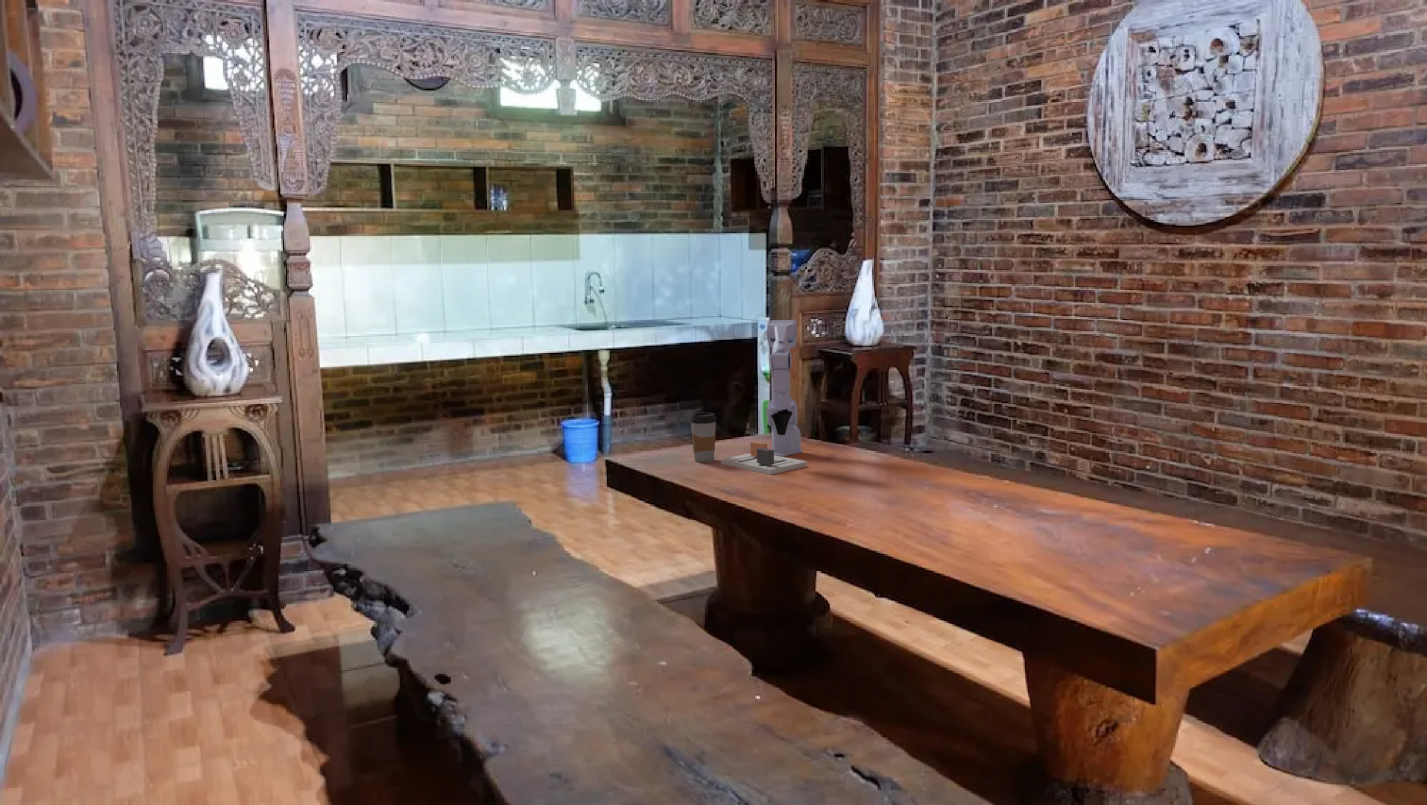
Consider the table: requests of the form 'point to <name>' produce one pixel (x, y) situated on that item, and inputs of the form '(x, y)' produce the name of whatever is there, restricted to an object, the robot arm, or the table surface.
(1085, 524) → the table surface
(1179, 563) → the table surface
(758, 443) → the block
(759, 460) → the fader
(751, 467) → the mixer plate
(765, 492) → the table surface
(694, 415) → the coffee cup
